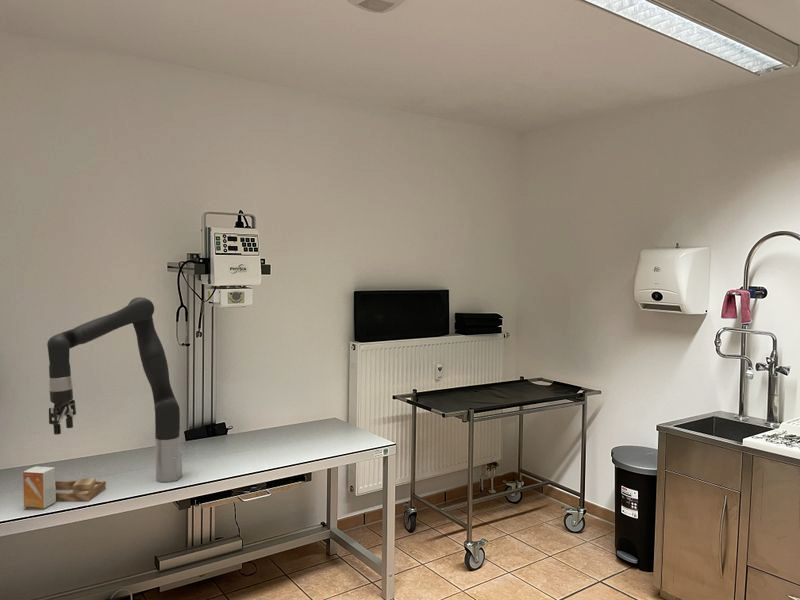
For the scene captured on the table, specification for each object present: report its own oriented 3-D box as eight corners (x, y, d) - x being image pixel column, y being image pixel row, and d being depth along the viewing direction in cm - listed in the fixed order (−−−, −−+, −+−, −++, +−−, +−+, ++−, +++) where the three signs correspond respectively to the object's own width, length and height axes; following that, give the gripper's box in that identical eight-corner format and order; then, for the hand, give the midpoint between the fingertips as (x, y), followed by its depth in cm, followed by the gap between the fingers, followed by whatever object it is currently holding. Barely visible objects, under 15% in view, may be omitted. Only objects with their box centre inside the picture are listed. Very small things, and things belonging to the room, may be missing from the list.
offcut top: (95, 484, 233) (95, 477, 233) (90, 490, 226) (90, 484, 226) (79, 485, 232) (78, 479, 232) (72, 492, 225) (72, 485, 225)
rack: (105, 488, 235) (105, 473, 235) (88, 501, 222) (87, 485, 222) (47, 488, 236) (46, 473, 235) (26, 501, 223) (25, 485, 222)
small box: (23, 507, 216) (22, 471, 215) (36, 500, 222) (35, 465, 222) (44, 508, 215) (42, 472, 214) (56, 501, 221) (55, 466, 220)
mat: (55, 502, 222) (55, 500, 222) (43, 509, 215) (43, 508, 215) (36, 501, 222) (36, 500, 222) (24, 509, 215) (24, 508, 215)
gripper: (60, 392, 219) (63, 436, 220) (80, 384, 233) (83, 425, 234) (40, 392, 219) (42, 436, 220) (61, 384, 233) (63, 426, 234)
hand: (63, 430), depth 227 cm, fingers open, 8 cm apart
